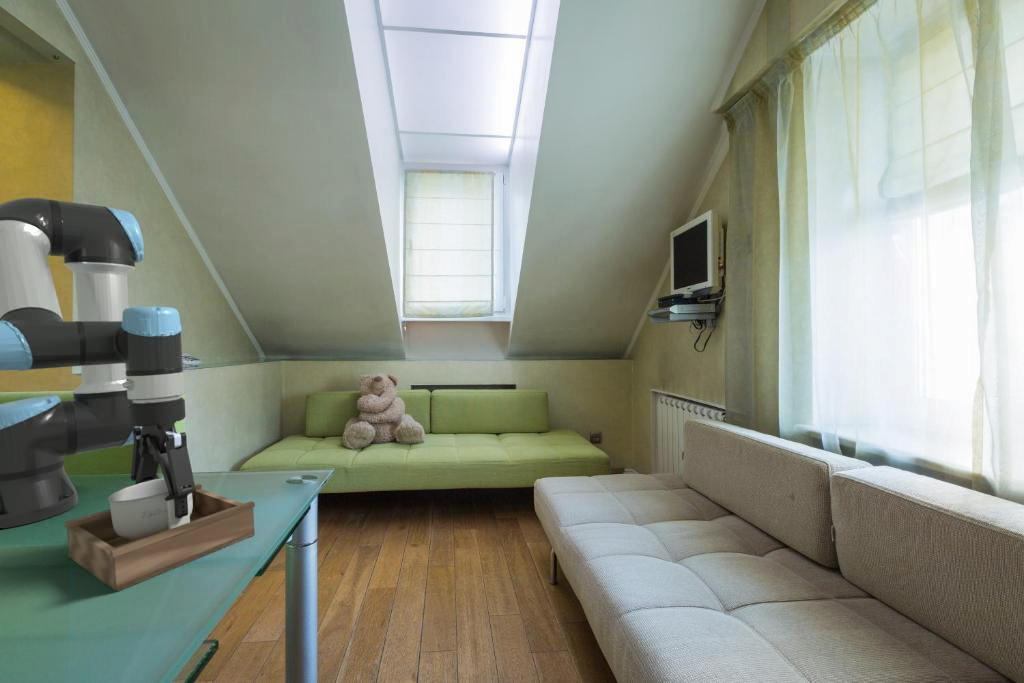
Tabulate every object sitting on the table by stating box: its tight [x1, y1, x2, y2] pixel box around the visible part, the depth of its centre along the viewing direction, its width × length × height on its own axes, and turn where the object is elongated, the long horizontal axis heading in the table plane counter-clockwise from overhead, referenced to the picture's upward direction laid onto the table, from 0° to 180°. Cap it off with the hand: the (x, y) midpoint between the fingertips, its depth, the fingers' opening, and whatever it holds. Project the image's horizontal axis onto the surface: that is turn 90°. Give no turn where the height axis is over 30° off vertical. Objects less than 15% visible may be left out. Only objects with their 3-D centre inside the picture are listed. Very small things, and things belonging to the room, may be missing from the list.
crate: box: [64, 483, 256, 593], centre depth 75 cm, size 20×19×6 cm
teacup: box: [107, 477, 193, 541], centre depth 75 cm, size 14×11×8 cm
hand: (164, 528), depth 75 cm, fingers closed on teacup, 11 cm apart
